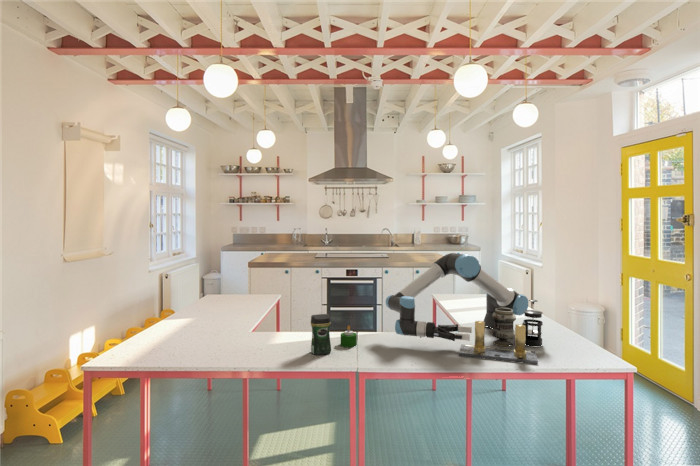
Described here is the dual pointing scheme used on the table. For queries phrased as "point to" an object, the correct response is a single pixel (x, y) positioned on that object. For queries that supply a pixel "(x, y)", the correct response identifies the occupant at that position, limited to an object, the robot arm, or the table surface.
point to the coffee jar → (320, 334)
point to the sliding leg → (479, 336)
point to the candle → (348, 338)
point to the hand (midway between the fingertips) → (470, 333)
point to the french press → (532, 339)
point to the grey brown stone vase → (503, 326)
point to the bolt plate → (504, 350)
